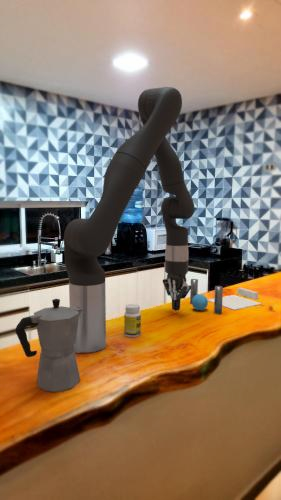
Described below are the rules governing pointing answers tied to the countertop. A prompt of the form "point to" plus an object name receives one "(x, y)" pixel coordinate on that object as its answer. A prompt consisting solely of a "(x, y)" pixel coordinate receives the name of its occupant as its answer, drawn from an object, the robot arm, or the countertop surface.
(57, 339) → the coffeepot
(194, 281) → the post left
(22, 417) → the countertop surface
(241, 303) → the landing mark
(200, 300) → the ball
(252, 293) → the stopper wall
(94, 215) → the robot arm
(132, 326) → the supplement bottle
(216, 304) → the post right
